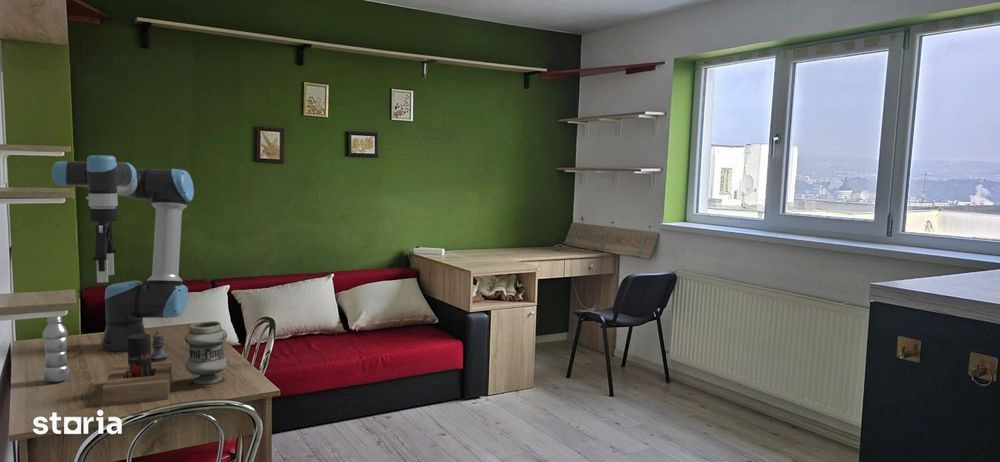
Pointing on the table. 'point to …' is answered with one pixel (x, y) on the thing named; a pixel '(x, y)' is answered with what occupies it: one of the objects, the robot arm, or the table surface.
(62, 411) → the table surface
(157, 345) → the salt shaker
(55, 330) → the plastic bottle
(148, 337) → the deodorant
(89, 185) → the robot arm
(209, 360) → the apothecary jar
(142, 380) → the holder block
